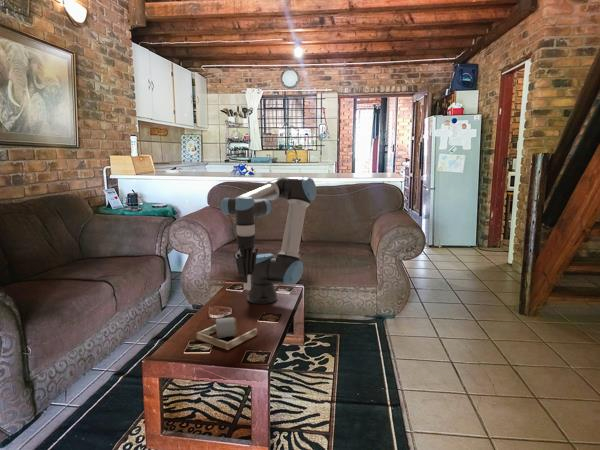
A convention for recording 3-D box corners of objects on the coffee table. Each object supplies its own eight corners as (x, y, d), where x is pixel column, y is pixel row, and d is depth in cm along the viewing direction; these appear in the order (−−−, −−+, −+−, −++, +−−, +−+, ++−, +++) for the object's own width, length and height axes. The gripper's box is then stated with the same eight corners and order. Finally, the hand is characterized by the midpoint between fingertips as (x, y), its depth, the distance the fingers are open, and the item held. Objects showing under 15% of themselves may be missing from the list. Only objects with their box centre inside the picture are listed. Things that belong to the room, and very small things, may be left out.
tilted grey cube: (238, 337, 163) (236, 318, 162) (217, 341, 162) (215, 322, 161) (236, 328, 174) (233, 311, 173) (216, 332, 172) (213, 314, 171)
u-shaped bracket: (226, 325, 179) (226, 319, 178) (257, 334, 169) (257, 328, 169) (196, 339, 165) (196, 333, 164) (227, 350, 155) (227, 343, 155)
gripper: (249, 231, 178) (250, 283, 182) (227, 236, 167) (229, 292, 171) (262, 232, 174) (263, 286, 178) (241, 238, 163) (243, 295, 167)
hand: (247, 289), depth 175 cm, fingers closed
